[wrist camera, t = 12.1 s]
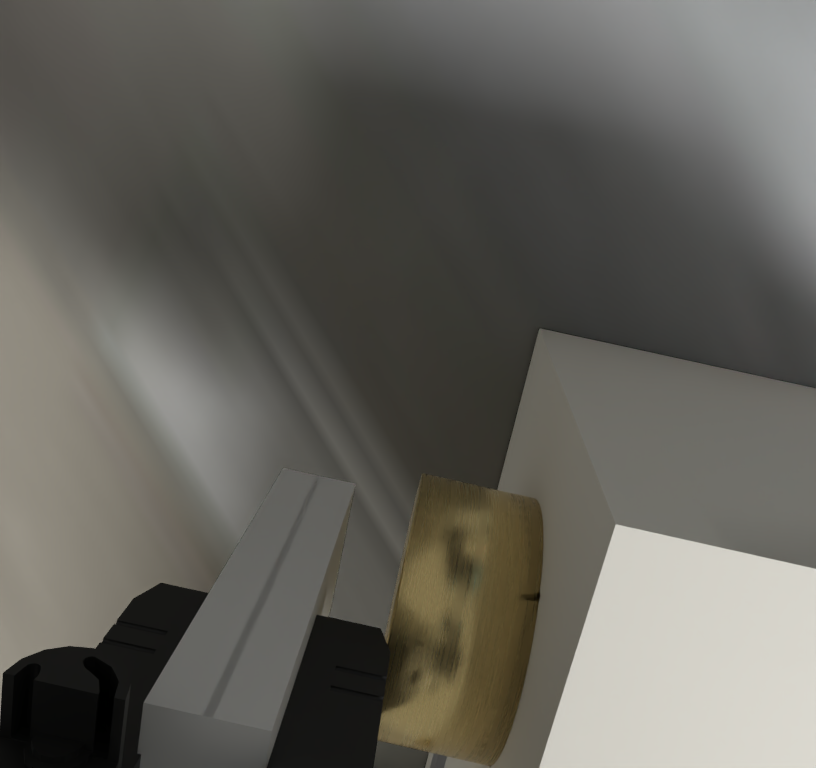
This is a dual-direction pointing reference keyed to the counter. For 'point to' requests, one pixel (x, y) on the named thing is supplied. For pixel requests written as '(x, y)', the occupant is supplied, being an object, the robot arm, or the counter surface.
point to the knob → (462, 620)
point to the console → (665, 563)
